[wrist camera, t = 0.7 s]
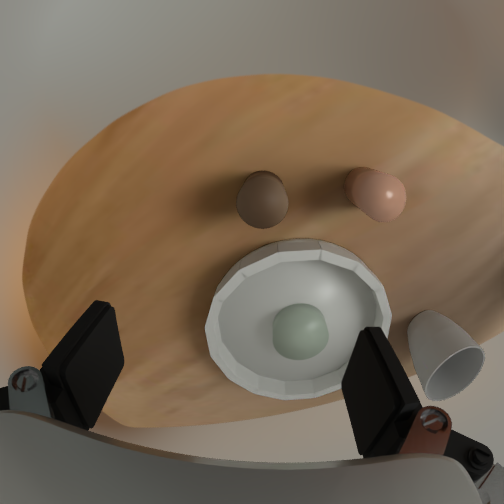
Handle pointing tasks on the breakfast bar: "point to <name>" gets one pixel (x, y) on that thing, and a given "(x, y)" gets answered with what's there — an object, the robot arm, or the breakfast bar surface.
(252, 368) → the groove tray
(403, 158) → the breakfast bar surface
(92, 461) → the robot arm
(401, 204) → the pinkish-brown rounded piece
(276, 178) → the walnut bead
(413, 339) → the cup
